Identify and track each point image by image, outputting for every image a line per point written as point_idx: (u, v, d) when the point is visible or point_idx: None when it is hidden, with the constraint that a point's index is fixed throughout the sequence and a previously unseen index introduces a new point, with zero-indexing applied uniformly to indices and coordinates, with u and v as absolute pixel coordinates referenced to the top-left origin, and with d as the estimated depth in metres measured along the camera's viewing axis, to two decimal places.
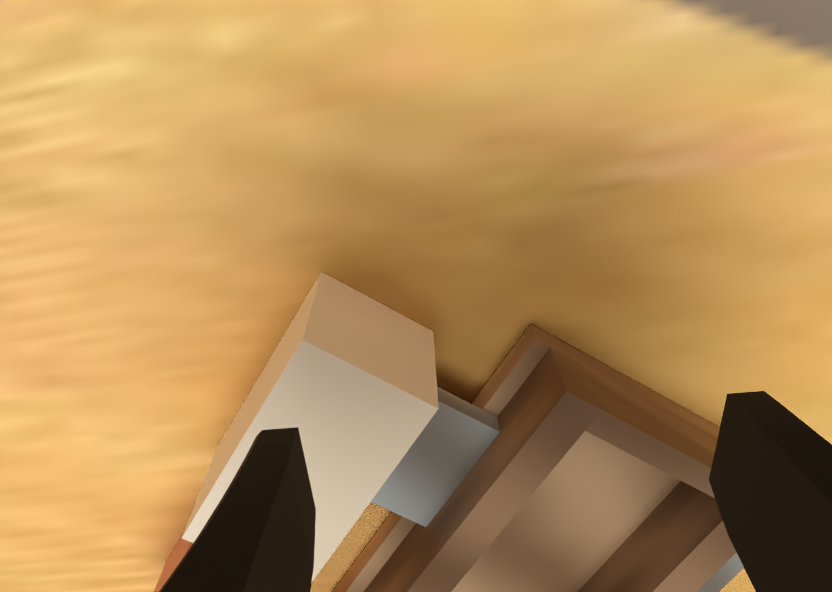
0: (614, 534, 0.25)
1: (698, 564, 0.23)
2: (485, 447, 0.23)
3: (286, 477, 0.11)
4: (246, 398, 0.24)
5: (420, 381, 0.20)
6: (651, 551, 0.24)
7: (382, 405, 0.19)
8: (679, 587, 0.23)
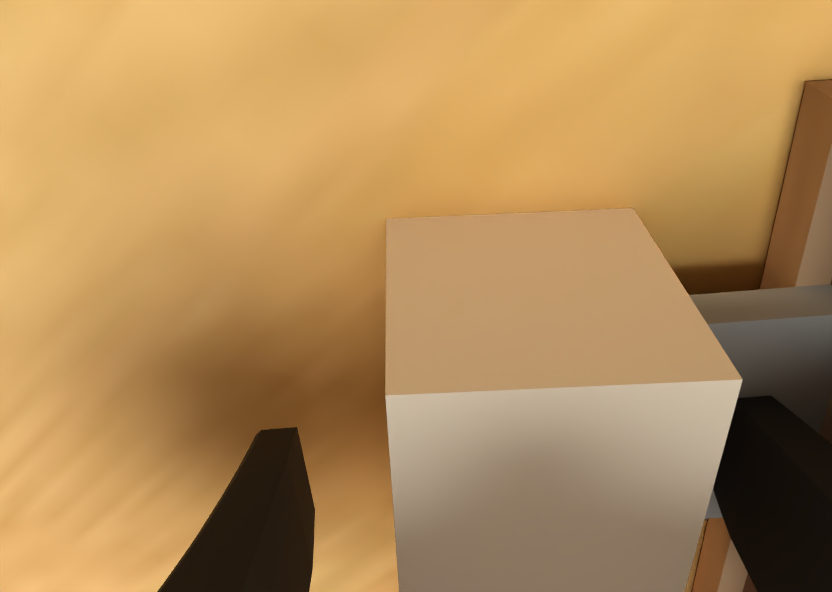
0: None
1: None
2: None
3: (285, 477, 0.11)
4: None
5: (669, 333, 0.09)
6: None
7: (619, 429, 0.09)
8: None
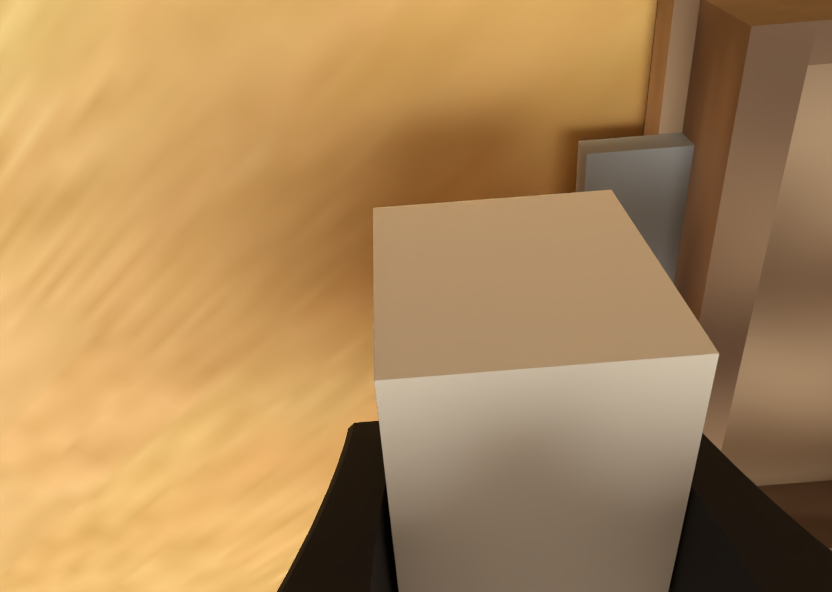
0: None
1: None
2: (687, 175, 0.17)
3: None
4: None
5: (648, 312, 0.09)
6: None
7: (601, 407, 0.09)
8: None
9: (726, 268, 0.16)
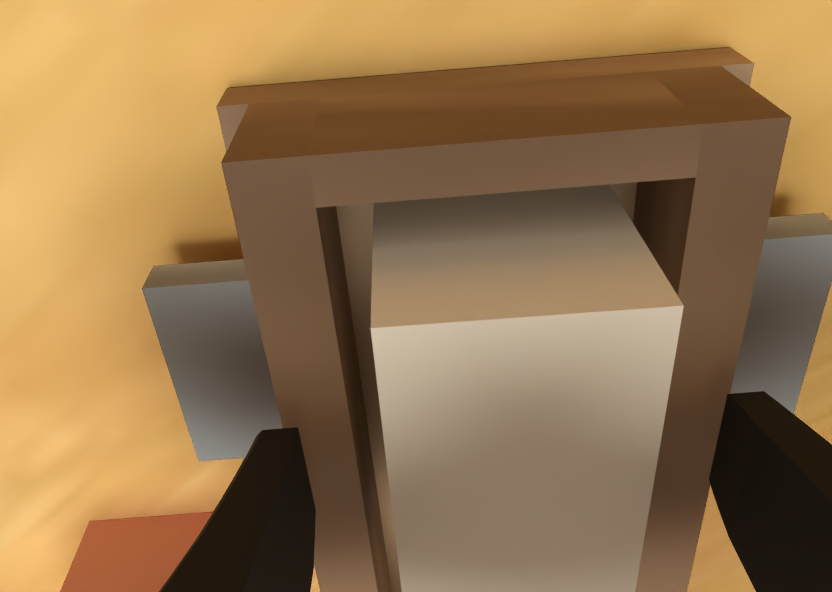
0: None
1: (708, 303, 0.12)
2: None
3: (286, 477, 0.11)
4: None
5: (622, 271, 0.10)
6: None
7: (578, 355, 0.10)
8: (705, 355, 0.12)
9: (307, 432, 0.13)
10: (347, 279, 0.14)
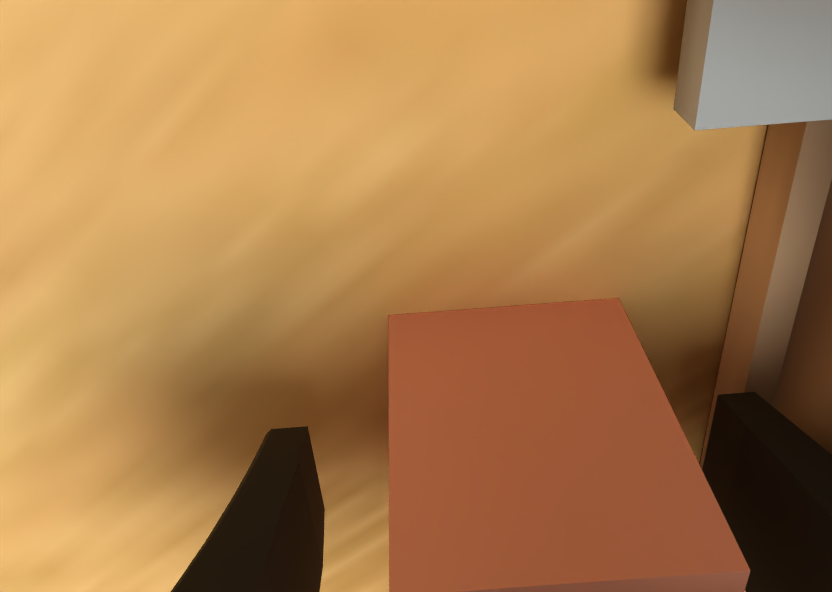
0: None
1: None
2: None
3: (296, 476, 0.11)
4: None
5: None
6: None
7: None
8: None
9: None
10: None
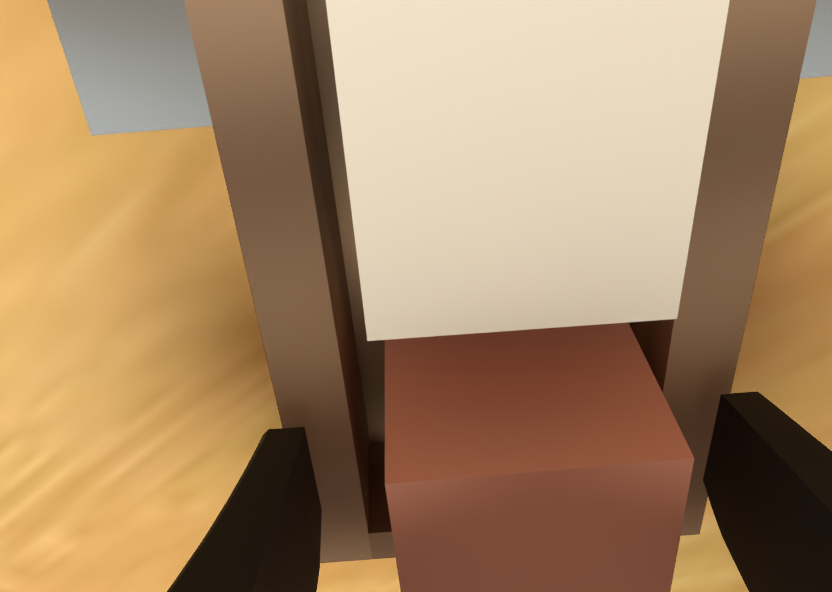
0: None
1: None
2: None
3: (293, 476, 0.11)
4: None
5: None
6: None
7: None
8: None
9: None
10: None
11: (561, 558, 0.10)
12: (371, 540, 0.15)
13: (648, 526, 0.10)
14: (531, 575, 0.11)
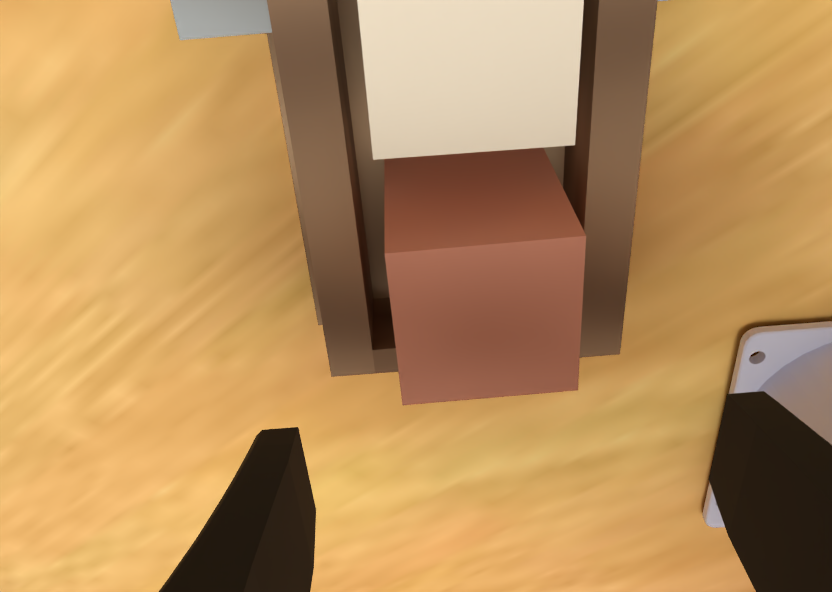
0: None
1: None
2: None
3: (286, 477, 0.11)
4: None
5: None
6: None
7: None
8: None
9: None
10: None
11: (503, 318, 0.15)
12: (374, 356, 0.20)
13: (560, 292, 0.15)
14: (483, 332, 0.16)
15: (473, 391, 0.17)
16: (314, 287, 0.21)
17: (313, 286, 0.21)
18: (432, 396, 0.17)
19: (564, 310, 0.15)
